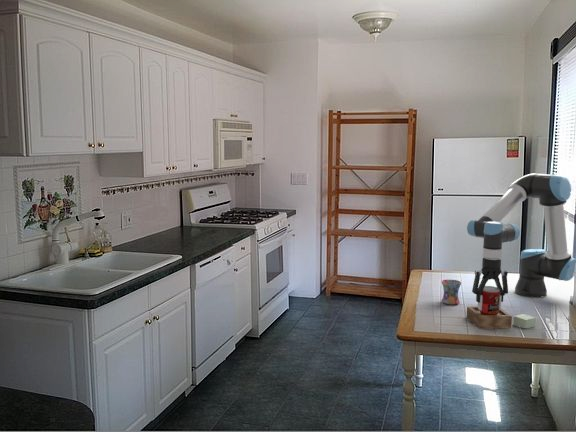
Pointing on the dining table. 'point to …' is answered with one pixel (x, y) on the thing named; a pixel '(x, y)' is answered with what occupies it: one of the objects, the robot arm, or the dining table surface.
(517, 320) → the brick
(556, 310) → the dining table surface
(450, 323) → the dining table surface
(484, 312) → the canned food
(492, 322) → the wooden tray
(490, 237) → the robot arm
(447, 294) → the mug
